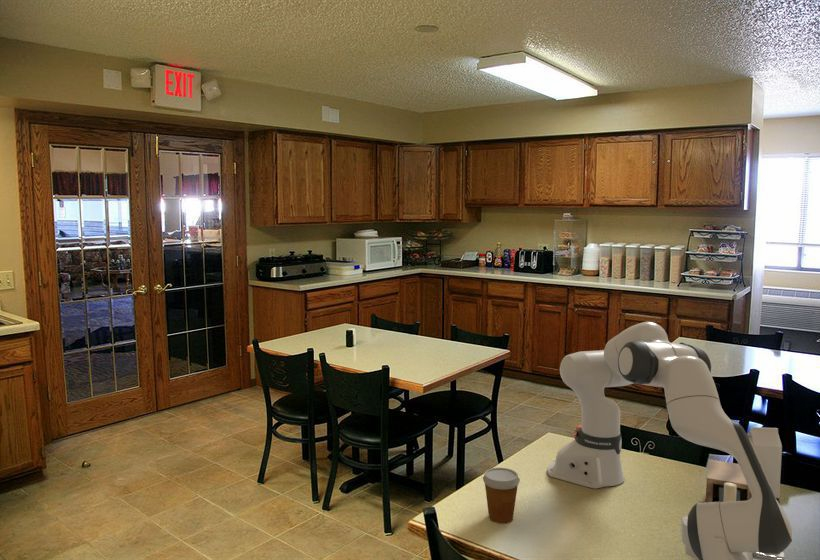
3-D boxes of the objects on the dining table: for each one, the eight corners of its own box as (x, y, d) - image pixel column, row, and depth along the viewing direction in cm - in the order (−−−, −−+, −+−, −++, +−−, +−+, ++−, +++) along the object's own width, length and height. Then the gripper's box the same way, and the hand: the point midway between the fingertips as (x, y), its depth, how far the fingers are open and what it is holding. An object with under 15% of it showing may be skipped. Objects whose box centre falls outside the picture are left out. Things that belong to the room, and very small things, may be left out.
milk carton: (779, 498, 171) (782, 432, 169) (751, 496, 173) (754, 431, 171) (769, 487, 178) (773, 424, 176) (743, 485, 180) (746, 422, 178)
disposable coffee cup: (496, 530, 155) (497, 484, 154) (475, 514, 164) (475, 471, 162) (526, 521, 160) (527, 477, 158) (504, 506, 168) (505, 464, 167)
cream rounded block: (717, 526, 156) (719, 485, 155) (718, 501, 170) (720, 462, 169) (739, 531, 154) (741, 489, 153) (739, 504, 168) (741, 466, 167)
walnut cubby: (705, 514, 162) (706, 477, 161) (707, 493, 175) (708, 459, 174) (752, 524, 157) (754, 486, 156) (751, 501, 170) (753, 466, 169)
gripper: (786, 547, 127) (782, 519, 140) (679, 525, 137) (683, 500, 149) (785, 576, 128) (780, 545, 140) (678, 552, 138) (682, 525, 150)
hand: (729, 522), depth 145 cm, fingers open, 8 cm apart
